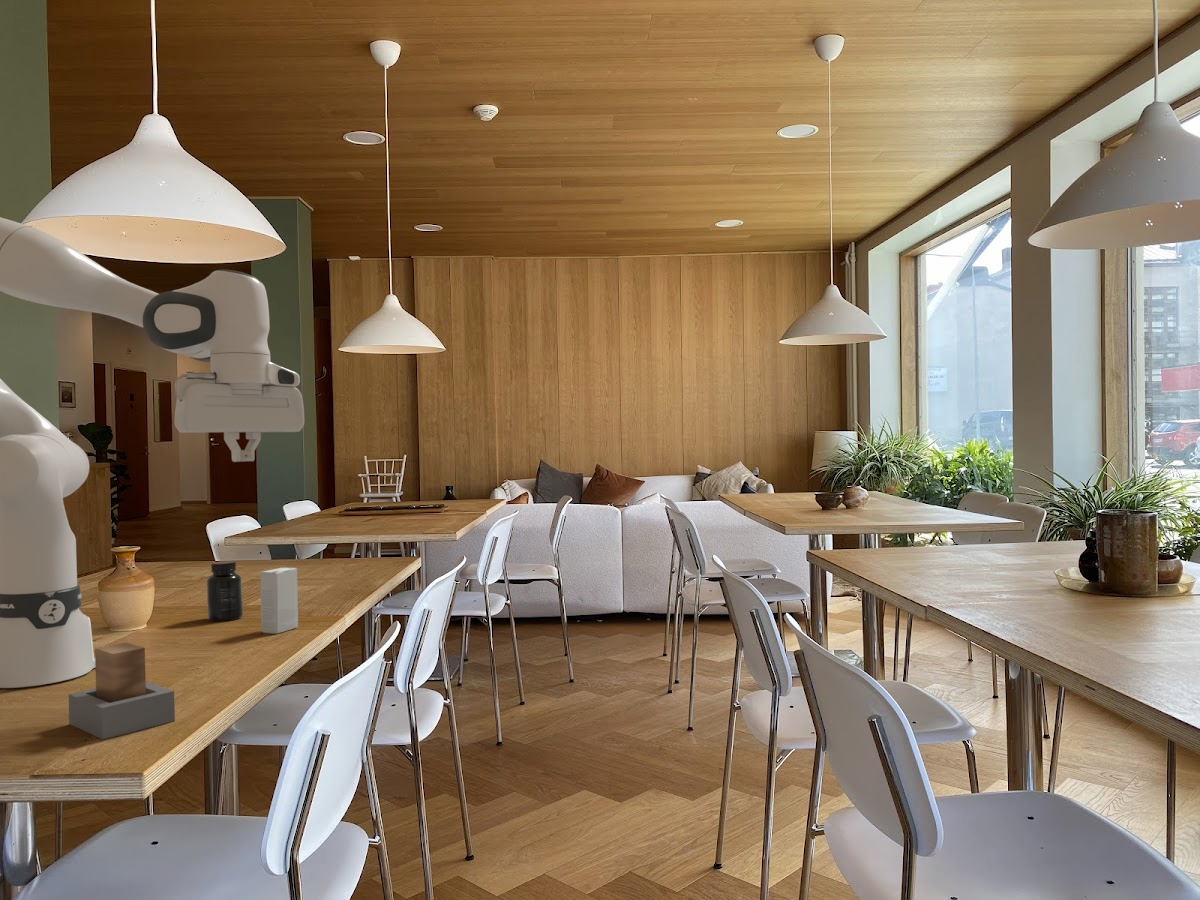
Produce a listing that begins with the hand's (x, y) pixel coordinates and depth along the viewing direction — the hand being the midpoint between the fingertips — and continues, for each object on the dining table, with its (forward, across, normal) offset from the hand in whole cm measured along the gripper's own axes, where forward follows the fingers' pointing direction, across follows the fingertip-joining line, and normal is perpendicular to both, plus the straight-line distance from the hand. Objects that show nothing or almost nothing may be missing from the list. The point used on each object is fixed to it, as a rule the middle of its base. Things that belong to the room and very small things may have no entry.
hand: (243, 461), depth 140 cm
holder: (+34, -22, -8) cm, 42 cm away
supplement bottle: (+34, +22, +48) cm, 63 cm away
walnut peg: (+34, -22, -8) cm, 42 cm away
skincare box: (+34, +22, +27) cm, 49 cm away
